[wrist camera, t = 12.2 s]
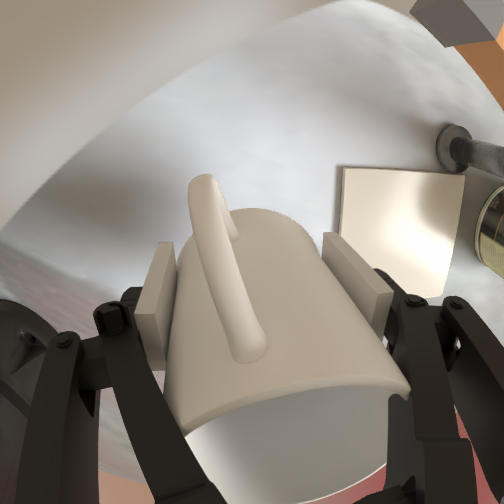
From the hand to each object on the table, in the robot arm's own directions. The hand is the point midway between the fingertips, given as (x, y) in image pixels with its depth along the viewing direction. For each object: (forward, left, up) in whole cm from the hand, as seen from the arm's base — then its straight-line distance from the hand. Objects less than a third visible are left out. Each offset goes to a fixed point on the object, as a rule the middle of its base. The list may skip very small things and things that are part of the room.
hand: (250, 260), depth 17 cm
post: (+20, +6, -9) cm, 22 cm away
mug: (0, 0, -1) cm, 1 cm away
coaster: (+15, -3, -9) cm, 17 cm away
